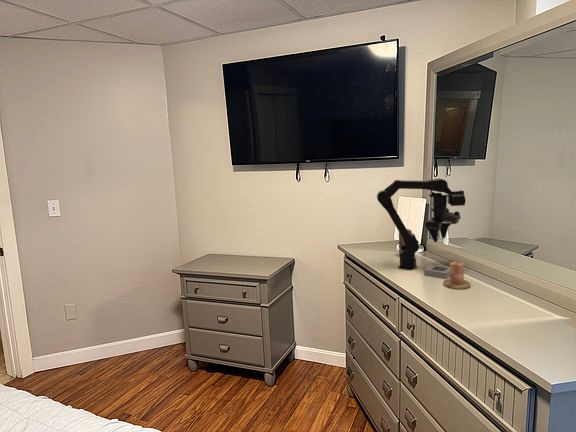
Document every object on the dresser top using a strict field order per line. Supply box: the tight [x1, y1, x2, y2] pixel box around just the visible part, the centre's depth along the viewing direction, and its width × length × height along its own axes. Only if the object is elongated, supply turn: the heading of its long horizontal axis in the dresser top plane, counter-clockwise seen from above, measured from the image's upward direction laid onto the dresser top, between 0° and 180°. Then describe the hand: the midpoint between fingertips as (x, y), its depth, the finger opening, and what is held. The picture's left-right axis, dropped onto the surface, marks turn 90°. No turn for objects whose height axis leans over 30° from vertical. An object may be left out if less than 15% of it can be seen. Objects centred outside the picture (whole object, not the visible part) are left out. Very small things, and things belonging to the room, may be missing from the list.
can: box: [398, 228, 413, 257], centre depth 200 cm, size 6×6×14 cm
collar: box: [423, 264, 450, 280], centre depth 169 cm, size 10×10×2 cm
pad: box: [442, 278, 471, 291], centre depth 155 cm, size 10×10×1 cm
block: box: [449, 261, 465, 285], centre depth 154 cm, size 4×4×8 cm
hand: (439, 240), depth 177 cm, fingers open, 9 cm apart
